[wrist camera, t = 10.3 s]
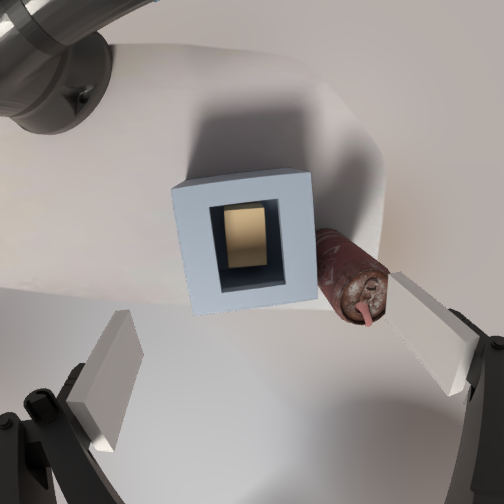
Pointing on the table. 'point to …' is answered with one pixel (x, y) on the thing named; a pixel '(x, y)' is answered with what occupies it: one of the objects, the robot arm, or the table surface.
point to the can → (350, 278)
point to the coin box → (277, 240)
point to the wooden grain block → (245, 234)
